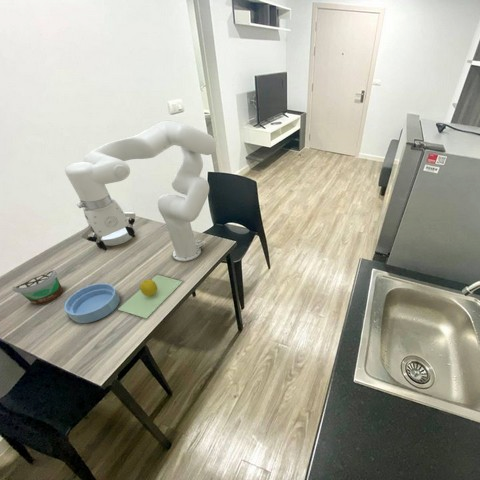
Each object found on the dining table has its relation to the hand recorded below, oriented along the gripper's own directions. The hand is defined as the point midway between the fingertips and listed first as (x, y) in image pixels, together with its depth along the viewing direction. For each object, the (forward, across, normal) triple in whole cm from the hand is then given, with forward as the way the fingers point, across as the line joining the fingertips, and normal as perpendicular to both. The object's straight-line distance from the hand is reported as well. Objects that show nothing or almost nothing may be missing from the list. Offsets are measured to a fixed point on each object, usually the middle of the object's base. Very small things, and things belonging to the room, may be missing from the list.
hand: (118, 242), depth 96 cm
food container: (+23, -23, +21) cm, 39 cm away
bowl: (+23, -15, +3) cm, 28 cm away
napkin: (+24, 0, -8) cm, 25 cm away
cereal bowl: (+24, +12, +38) cm, 47 cm away
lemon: (+23, 0, -8) cm, 25 cm away
